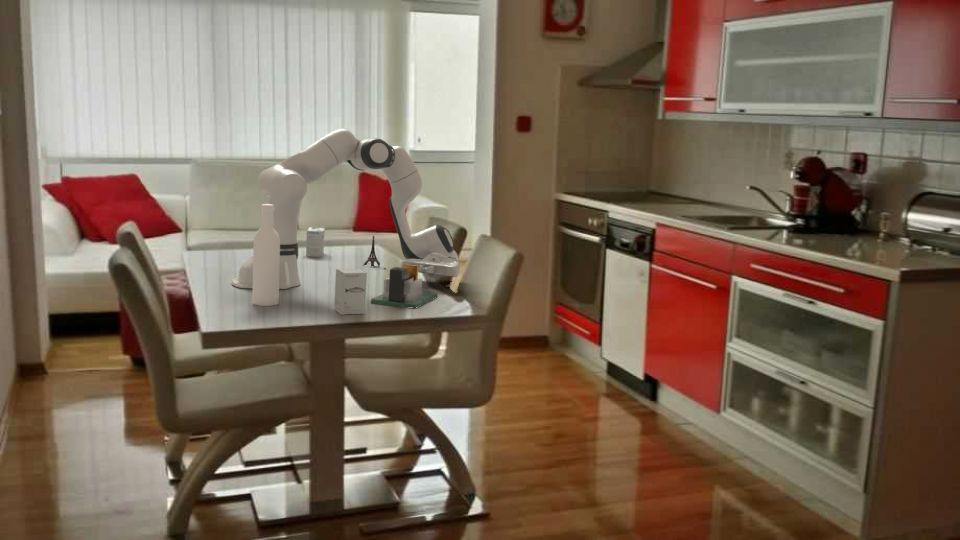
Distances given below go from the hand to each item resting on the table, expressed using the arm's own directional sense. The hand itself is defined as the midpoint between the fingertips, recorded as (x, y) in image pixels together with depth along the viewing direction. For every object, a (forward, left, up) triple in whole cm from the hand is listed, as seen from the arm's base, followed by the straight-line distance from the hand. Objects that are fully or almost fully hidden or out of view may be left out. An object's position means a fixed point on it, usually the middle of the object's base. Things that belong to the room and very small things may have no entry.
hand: (423, 270), depth 293 cm
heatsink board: (-11, -13, -7) cm, 18 cm away
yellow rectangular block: (-11, -14, -4) cm, 18 cm away
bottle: (-55, -13, -8) cm, 57 cm away
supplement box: (-33, -28, -8) cm, 44 cm away
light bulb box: (-18, +79, -8) cm, 82 cm away
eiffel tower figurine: (-1, +52, -8) cm, 52 cm away
